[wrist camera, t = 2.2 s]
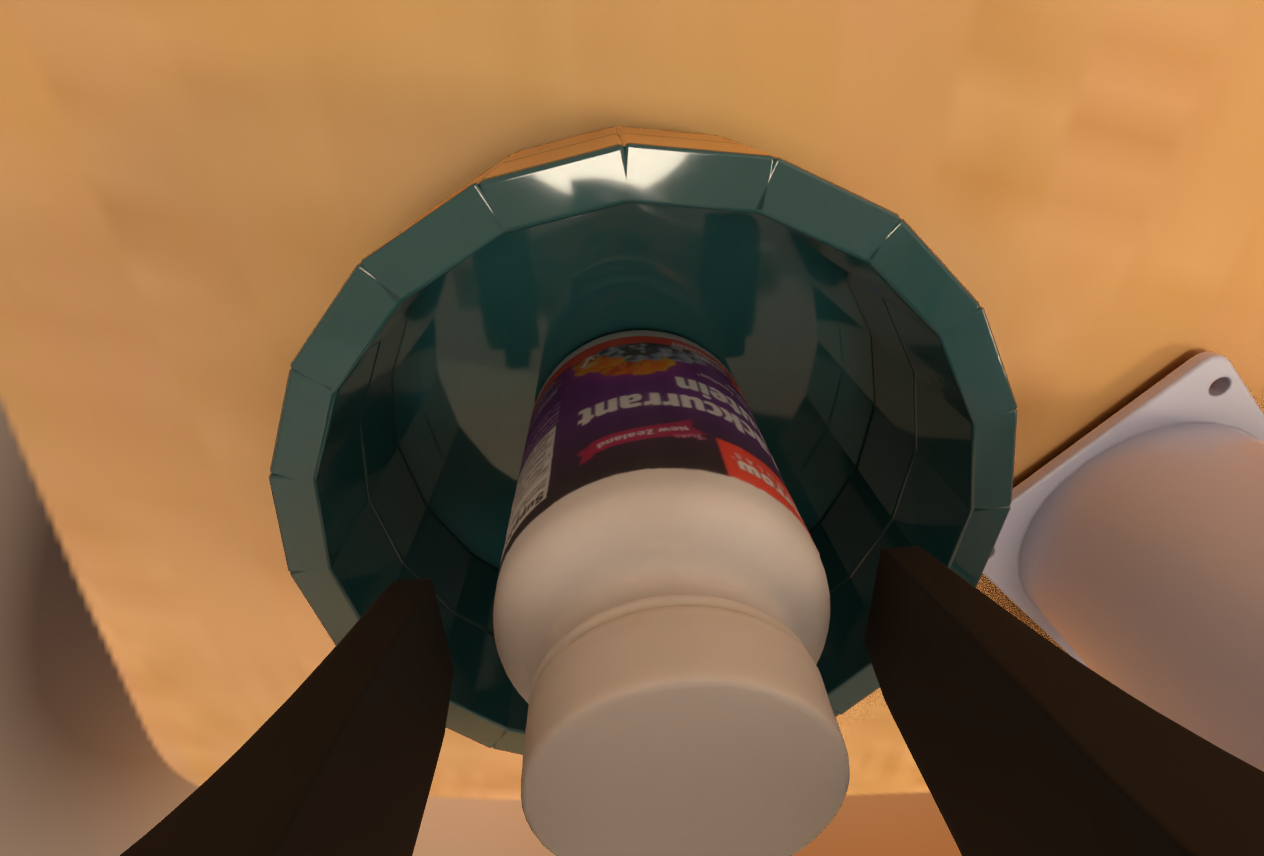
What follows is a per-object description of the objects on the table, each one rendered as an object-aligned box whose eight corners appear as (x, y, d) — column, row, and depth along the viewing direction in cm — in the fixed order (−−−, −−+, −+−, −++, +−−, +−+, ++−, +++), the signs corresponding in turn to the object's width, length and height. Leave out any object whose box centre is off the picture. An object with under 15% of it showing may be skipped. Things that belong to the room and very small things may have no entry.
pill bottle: (776, 357, 16) (1003, 687, 7) (700, 530, 18) (799, 937, 9) (561, 294, 15) (513, 590, 6) (509, 486, 17) (421, 897, 8)
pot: (974, 158, 14) (1151, 189, 10) (831, 621, 20) (897, 769, 16) (328, 99, 13) (187, 103, 8) (390, 610, 19) (328, 767, 15)
